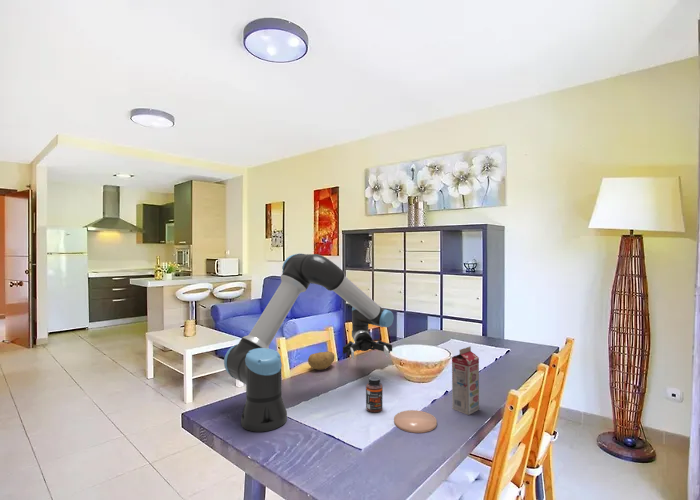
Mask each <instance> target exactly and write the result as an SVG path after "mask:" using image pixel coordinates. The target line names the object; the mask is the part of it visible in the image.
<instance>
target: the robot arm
mask: <svg viewBox="0 0 700 500" xmlns="http://www.w3.org/2000/svg"><path fill="white" fill-rule="evenodd" d="M280 280H281V281H280V284H279V285H278V287H277V288H276V291H275V292H274V294H273V296H272V297H271V299H270V300H269V302H268V304H267V305H266V307H265V308H264V310H263V312H262V313H261V315H260V316H259V317H258V320H257V321H256V323H255V324H254V326H253V328H251V331H250V332H249V334H248V335H245V336H243V337H241V339H240V340H239V342H238V343H237V344H234V345H232V346H231V347H230V348H229V349H228V350H227V351H226V353H225V355H224V358H223V364H224V369H225V371H226V373H227V374H229V375H230V377H231V378H233V379H235V380H237V381H239V382H241V383H242V384H244V385H245V391H246V392H245V394H246V399H245V400H246V401H245V403H244V407H243V411H242V413H241V416H240V417H241V420H240V423H241V427H242V428H243V429H244V430H247V431H250V432H257V433H258V432H269V431H273V430H276V429H278V428H280V427H282V426H283V425H285V424H286V423H287V421H288V412H287V409H286V405H285V403H284V399H283V396H282V366H283V365H282V358H281V355H280V352H278V351H277V350H275V349H273V348H270V345H271V343H272V341H273V340H274V338H275V336H276V335H277V333H278V331H279V330H280V328H281V327H282V325H283V323H284V321H285V319H286V317H287V316H288V314H289V312H290V311H291V309H292V308H293V305H294V304H295V302H296V300H297V299H298V298H299V296H300V294H301V293H304V292H306V291H307V289H308V288H309V286H310V285H311V284H313V285H318V286H322V287H323V288H324V289H326V290H328V291H330V292H334V293H335V294H336V295H338V296H339V297H340V298H342V299H343V300H344V301H345V302H346V303H348V304H349V305H350V306H351V307H352V308H351V315H352V316H351V317H352V320H351V321H352V322H351V323H352V325H351V327H352V328H351V329H352V330H351V338H352V340H353V341H354V342H353V341H352V340H349V341H348V343H346V344H345V345H344V346H342V354H343V355H345V354H347V356H349V357H351V359H352V360H354V359H355V352H357V351H358V352H359V351H362V352H368V351H369V350H372V351H375V350H377V351H381V352H383V354H384V356H386V358H390V353H391V352H393V344H391V343H388V342H384V341H382V340H381V339H378V340H377V341H375V340H374V339H373V338H372V336H371V335H370V333H369V325H370V326H371V325H372V326H377V327H381V328H389V327H391V326H392V325H393V322H394V319H395V318H394V313H393V312H392V311H391V310H389V309H384V308H383V307H381V306H380V305H379V304H378V303H377V302H375V301H374V299H372V298H371V297H370V296H369V295H368V294H366V292H364V291H363V290H362V289H361V288H359V287H358V286H357V285H356V284H355V283H354V282H353V281H352V280H351V279H349V278H348V277H347V276H346V273H345V272H344V270H343V269H341V267H340V266H338V265H337V264H335V263H334V262H333V261H331V260H330V259H329V258H327V257H326V256H324V255H322V254H317V253H313V254H312V253H310V254H309V253H307V254H306V253H295V254H290V255H289V256H288V257H286V259H285V260H284V261H283V264H282V273H281V275H280Z"/></svg>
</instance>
